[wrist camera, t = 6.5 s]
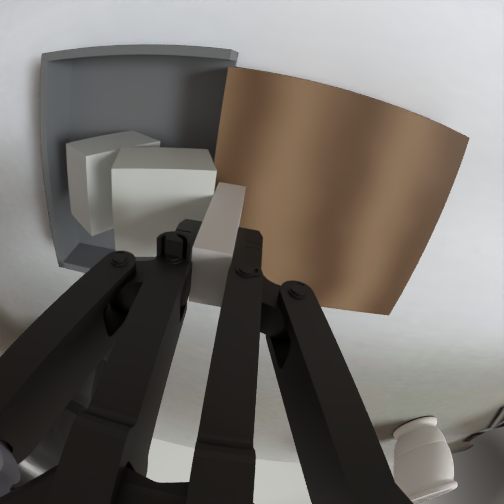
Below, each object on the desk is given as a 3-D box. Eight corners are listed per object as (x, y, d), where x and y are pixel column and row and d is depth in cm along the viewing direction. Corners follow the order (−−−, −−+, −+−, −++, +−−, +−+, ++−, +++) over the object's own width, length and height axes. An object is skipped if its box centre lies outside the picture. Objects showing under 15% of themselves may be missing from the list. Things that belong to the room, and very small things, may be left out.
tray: (77, 244, 25) (58, 266, 23) (70, 51, 16) (41, 53, 13) (207, 268, 26) (200, 297, 23) (238, 52, 17) (231, 49, 14)
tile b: (122, 223, 18) (116, 257, 16) (121, 146, 16) (111, 168, 13) (199, 224, 20) (206, 256, 17) (208, 149, 17) (216, 170, 14)
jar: (395, 442, 48) (405, 507, 35) (380, 429, 44) (390, 507, 31) (445, 421, 44) (460, 488, 31) (436, 406, 40) (455, 484, 27)
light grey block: (156, 212, 20) (130, 194, 22) (160, 141, 18) (132, 130, 19) (91, 236, 17) (71, 214, 19) (85, 156, 14) (66, 143, 16)
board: (208, 259, 25) (200, 286, 23) (235, 67, 17) (228, 66, 14) (378, 287, 26) (388, 315, 23) (444, 125, 18) (469, 137, 15)
